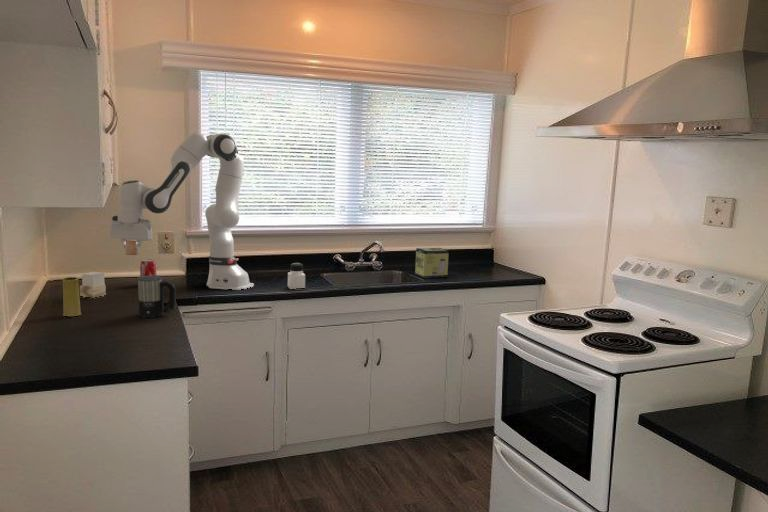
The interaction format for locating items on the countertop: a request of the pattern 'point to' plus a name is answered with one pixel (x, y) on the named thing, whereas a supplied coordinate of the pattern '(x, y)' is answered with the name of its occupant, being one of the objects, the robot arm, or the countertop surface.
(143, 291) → the milk frother
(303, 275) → the medicine bottle
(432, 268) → the protein box
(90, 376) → the countertop surface
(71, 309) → the vase
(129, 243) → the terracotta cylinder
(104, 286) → the tower base
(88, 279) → the tower top
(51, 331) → the countertop surface
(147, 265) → the soda can
